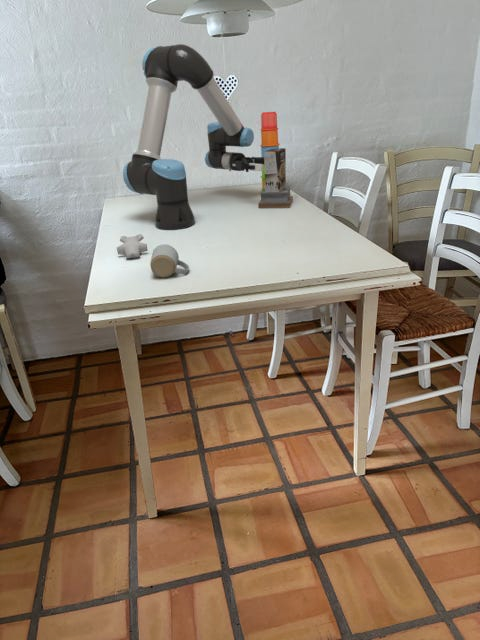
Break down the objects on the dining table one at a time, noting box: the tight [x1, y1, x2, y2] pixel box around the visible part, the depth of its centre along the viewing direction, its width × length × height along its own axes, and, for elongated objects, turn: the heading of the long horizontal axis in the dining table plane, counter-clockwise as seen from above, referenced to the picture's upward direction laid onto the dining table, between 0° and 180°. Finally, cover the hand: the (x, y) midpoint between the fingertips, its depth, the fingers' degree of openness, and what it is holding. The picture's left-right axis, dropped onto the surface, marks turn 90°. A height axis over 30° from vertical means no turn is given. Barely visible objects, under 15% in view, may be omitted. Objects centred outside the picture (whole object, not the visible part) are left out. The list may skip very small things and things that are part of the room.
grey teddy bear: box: [116, 233, 149, 259], centre depth 155 cm, size 10×5×15 cm
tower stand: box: [257, 186, 294, 209], centre depth 201 cm, size 13×13×6 cm
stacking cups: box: [259, 111, 280, 193], centre depth 216 cm, size 10×10×35 cm
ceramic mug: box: [150, 244, 190, 278], centre depth 136 cm, size 11×8×8 cm
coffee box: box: [264, 147, 287, 192], centre depth 196 cm, size 9×6×16 cm
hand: (272, 165), depth 196 cm, fingers open, 13 cm apart
